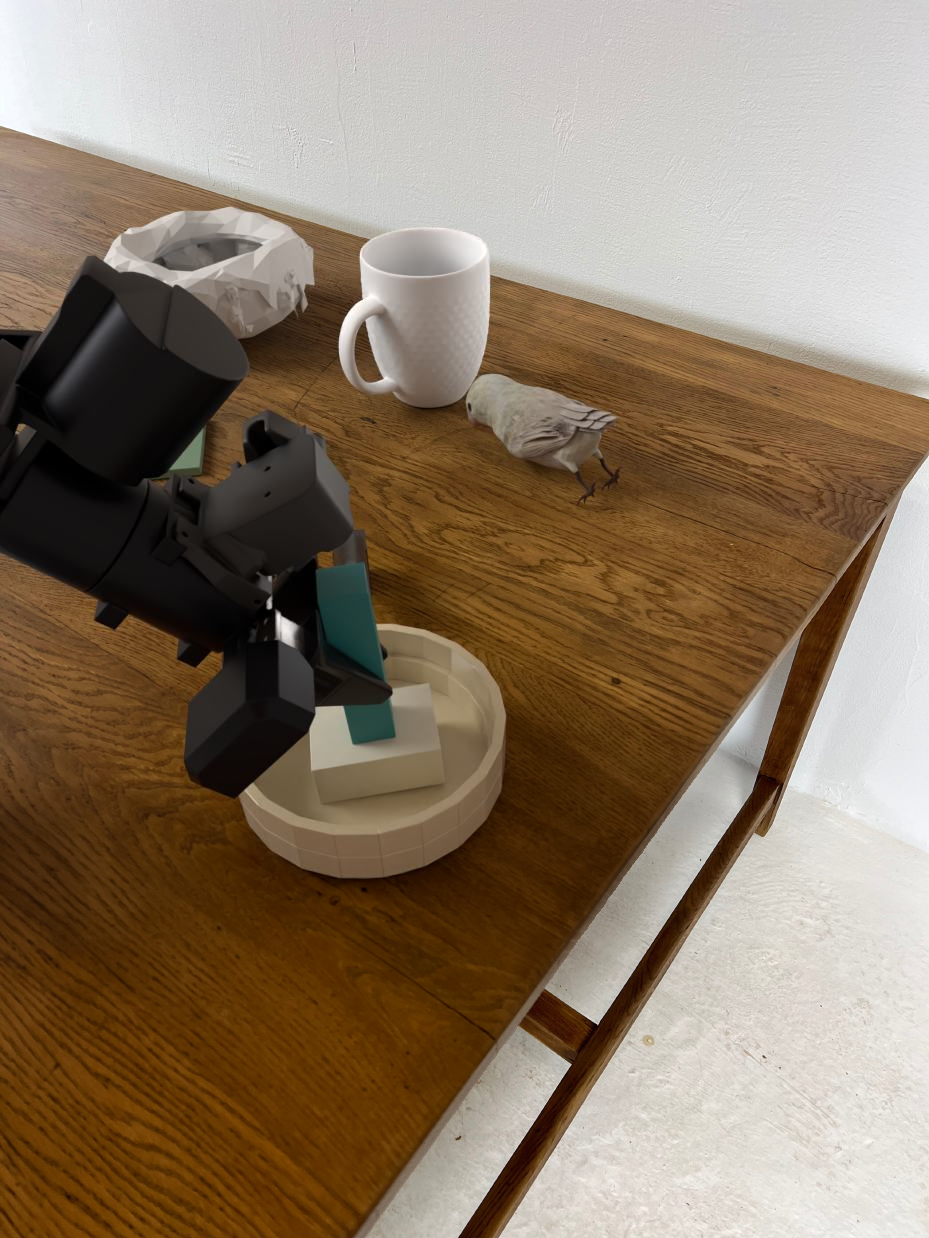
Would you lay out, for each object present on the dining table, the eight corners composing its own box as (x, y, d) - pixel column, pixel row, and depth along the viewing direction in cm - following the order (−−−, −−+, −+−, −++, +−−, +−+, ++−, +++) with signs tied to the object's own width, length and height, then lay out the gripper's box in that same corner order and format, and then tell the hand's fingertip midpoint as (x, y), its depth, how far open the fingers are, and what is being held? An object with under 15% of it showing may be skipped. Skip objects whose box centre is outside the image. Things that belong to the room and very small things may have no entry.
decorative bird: (494, 415, 84) (495, 336, 79) (630, 491, 75) (641, 407, 70) (448, 437, 81) (446, 356, 76) (584, 518, 72) (591, 432, 67)
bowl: (87, 324, 99) (58, 227, 92) (260, 274, 108) (245, 183, 101) (170, 401, 86) (144, 296, 80) (357, 338, 95) (348, 238, 89)
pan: (236, 905, 48) (219, 855, 45) (243, 690, 59) (230, 638, 56) (528, 864, 49) (530, 813, 46) (480, 661, 61) (480, 610, 58)
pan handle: (345, 691, 59) (337, 636, 56) (335, 571, 68) (328, 519, 65) (383, 686, 59) (377, 632, 56) (368, 568, 68) (363, 515, 65)
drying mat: (64, 488, 76) (61, 480, 76) (80, 431, 83) (77, 423, 82) (201, 475, 77) (199, 467, 77) (207, 419, 84) (205, 411, 83)
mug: (391, 452, 79) (379, 303, 71) (313, 405, 85) (294, 263, 77) (514, 391, 87) (517, 249, 78) (435, 352, 93) (429, 216, 84)
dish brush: (321, 804, 52) (267, 627, 43) (317, 736, 55) (268, 560, 46) (446, 783, 52) (419, 603, 43) (434, 716, 56) (408, 538, 47)
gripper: (208, 546, 31) (529, 724, 39) (227, 308, 45) (462, 478, 53) (40, 734, 35) (360, 857, 44) (104, 466, 49) (339, 599, 58)
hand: (385, 677), depth 49 cm, fingers closed on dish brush, 2 cm apart
